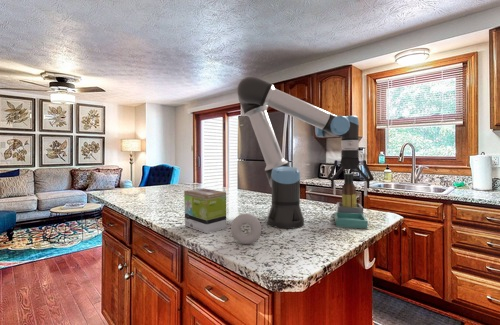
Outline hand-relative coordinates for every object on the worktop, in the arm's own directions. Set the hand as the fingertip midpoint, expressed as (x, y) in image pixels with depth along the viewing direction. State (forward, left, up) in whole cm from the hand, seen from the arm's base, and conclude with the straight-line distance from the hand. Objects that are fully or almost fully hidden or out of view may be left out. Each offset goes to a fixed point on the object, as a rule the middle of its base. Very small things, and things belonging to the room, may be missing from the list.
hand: (349, 195), depth 123 cm
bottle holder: (0, 0, -10) cm, 10 cm away
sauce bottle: (0, 0, -10) cm, 10 cm away
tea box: (-57, -35, -10) cm, 68 cm away
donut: (-36, -49, -10) cm, 62 cm away
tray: (-1, -14, -10) cm, 17 cm away
